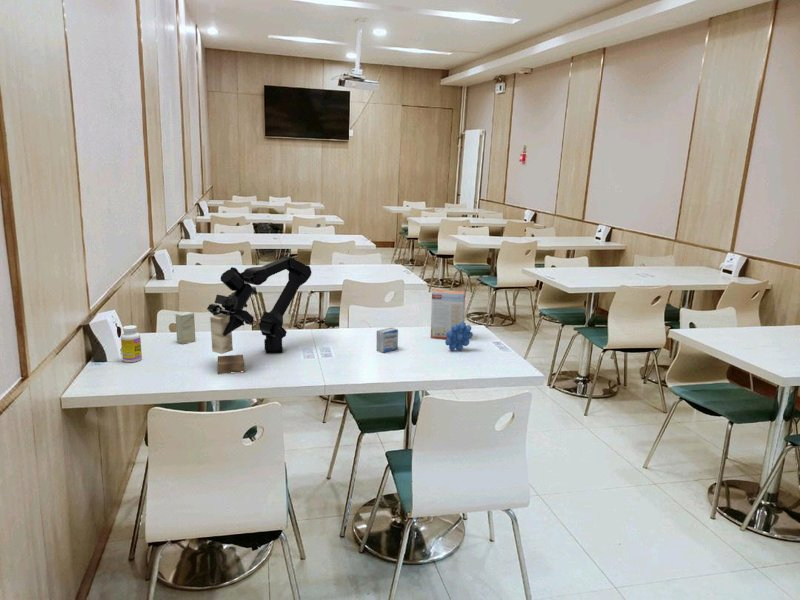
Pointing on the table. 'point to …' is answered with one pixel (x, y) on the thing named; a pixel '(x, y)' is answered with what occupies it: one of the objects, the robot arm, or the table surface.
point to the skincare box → (185, 327)
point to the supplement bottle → (131, 344)
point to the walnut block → (230, 363)
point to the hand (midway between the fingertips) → (218, 334)
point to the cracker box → (446, 311)
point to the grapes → (459, 336)
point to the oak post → (220, 334)
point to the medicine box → (387, 340)
